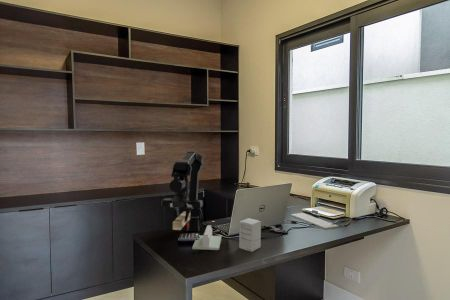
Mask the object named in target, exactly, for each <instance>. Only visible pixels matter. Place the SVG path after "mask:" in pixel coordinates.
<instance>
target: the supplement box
mask: <svg viewBox="0 0 450 300" xmlns="http://www.w3.org/2000/svg"><path fill="white" fill-rule="evenodd" d="M261 235H262V227H261V221H259V220H258V219H253V218H249V217H248V218H245V219H243V220H240V221H239V235H238V236H239V237H238V238H239V240H238V242H239V243H238V245H239V247H238V248H239V249H241V250H244V251H248V252H251V253H252V252H254V251H256V250H258V249H260V248H261V244H262V243H261V238H262V237H261Z"/></svg>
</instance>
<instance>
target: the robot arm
mask: <svg viewBox="0 0 450 300" xmlns="http://www.w3.org/2000/svg"><path fill="white" fill-rule="evenodd" d="M203 166H204V159H203V156H202V155H201V154H199V153H198V152H197V151H196V150H195V151H194V150H193V151H192V150H191V151H190V150H189V151H187V152H186V154H185V155H184V157H183V158H182V159H180V160H177V161H175V163H174V164H173V167H172V172H171V177H172V178H173V179H172V180H171V181H170V182H169V189H170V191H171V192H173V193H174V195H173V198H171V197H165V198H164V199H162V200H161V202H160V203H161V207H169V209H171V210H172V211H173V212H174V216H175V217H176V218H177V217H178V216H179V215H180V208H183V207H184V206H185V208H184V209H183V210H184V211H183V212H186V216H185V221H187V219H188V216H189V214H190V220H189V221H188V222H187V225H188V226H187V229H186V232H199V231H200V229H201V227H200V225H199V224H200V221H201V220H202V219H203V211H202V209H201V208H202V207H203V206H204V201H203V200H202V199H198V197H199V195H198V194H199V179H200V172H201V171H202V170H203ZM189 176H190V178H189ZM176 218H175V219H176Z"/></svg>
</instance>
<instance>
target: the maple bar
mask: <svg viewBox="0 0 450 300" xmlns="http://www.w3.org/2000/svg"><path fill="white" fill-rule="evenodd" d="M185 216H186V212H184V211H183V212H181V213H179V216H178V217H177V218H175V219H174V220H173V221H172V230H174V231H181V230H182V229H183V228H184V226H185V225H187V224H188V221H189V220H190V214H189V216H188V219H187V221H185Z"/></svg>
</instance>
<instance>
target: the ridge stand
mask: <svg viewBox="0 0 450 300" xmlns="http://www.w3.org/2000/svg"><path fill="white" fill-rule="evenodd" d="M199 237H200V238H199V240H196V239H195V240H194V243H193V245H192V248H191V249H192V250H210V251H219V250H220V247H221V243H222V236H221V235H213V228H212V225H209V224H208V225H207V226H206V228H205V230H204V233H203V234H202V235H199Z"/></svg>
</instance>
